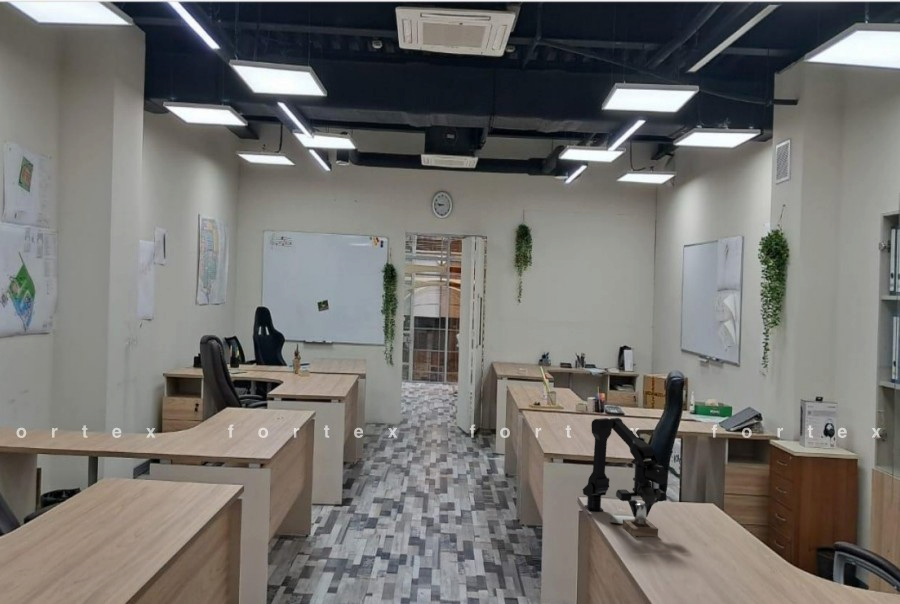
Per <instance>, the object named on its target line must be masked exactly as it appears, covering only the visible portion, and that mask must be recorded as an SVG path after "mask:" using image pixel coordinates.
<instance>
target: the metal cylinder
mask: <svg viewBox="0 0 900 604" xmlns="http://www.w3.org/2000/svg"><path fill="white" fill-rule="evenodd" d="M646 513H647V504H645V502H643V501H641V502H639V501H637V504H636V517H634V522H636V523H638V524H645V523H646V519H647V517H646Z"/></svg>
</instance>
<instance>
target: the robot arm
mask: <svg viewBox="0 0 900 604" xmlns="http://www.w3.org/2000/svg"><path fill="white" fill-rule="evenodd" d="M590 425H591V433H592V436H593V437H594V448H593V450H594V451H593V463H592V471H591V474H590V476H589V477H588V480H587V484H586V485H585V486H584V488H582V494H583V496H586V497H587V500H586V501H587V503H586V504H584V508H585V509H586V510H587V511H588V512H604V508H602V507H601V506H602V496H606V495H607V492H608V491H609V489H610V478H609V477H607V475H606V459H607V444H608V443H607V442H608V439H609V437H610V436H611V435H612V431H613V432H615V433H616V434H617V436H619V437H620V438H621V440H622V441H623V442H624V443H625V444H626V445H627V446H628V448H629V452H630V453H631V455H632V457H633V458H634V459H632V460H631V461H630V463H631V464H632V465H633V464H634V477H633V478H632V480H633V481H634V484H633V487H632V492H630V491H629V490H627V489H617V490H616V491H615V497H616V498H617V499H618V500H620V501H622V502H628V505H629V507H630V510H631V512H632V515H633V517H634V518H635V517H636V504H637V502H638V501H637V500H636V498H641V499H642V502H643V503H645V504H647V513H646V518H648V516H649V514H650V511H651V509H652V507H653V506H654V504H656V503H658V501H661V502H662V501H663V502H666V501H667V500H668V496H667V493H666V492H665V491H663V490H661V489H660V488H658V487H657V488H653V486H652V483H655V484H657V485H659V486H663V485H664V484H666V482H667V481H668V476H669V475H668V473H667V471H666V470H665V467H664V466H663V465H660V463H659V459H658V458H657V456H656V452H655V451H654V448H653V446H652V445H650V444H649V443H648V442H647V441H644V440H642V439H640V438H638V436H636V434H634V432H633V431H632V430H630V428H629V427H628V426H627V425H626V424H625V423H624V422H623V420H622V418H620V417H611V418H607V417H604V418H595V419H593V420H592V421H591V424H590Z"/></svg>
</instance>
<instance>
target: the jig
mask: <svg viewBox="0 0 900 604" xmlns="http://www.w3.org/2000/svg"><path fill="white" fill-rule="evenodd" d="M622 528H623V529H624V530H625V531H626V532H627V533H628V532H629V533H630V534H629V533H628V534H629V535H630V536H632V537H633V538H635V537H634V536H659V528H658V527H657V526H656V525H655V524H653V523H652V522H651V521H649V519H647V518H646V523H645V524H638V523H636V522H634V519H631V518H630V519H622Z"/></svg>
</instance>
